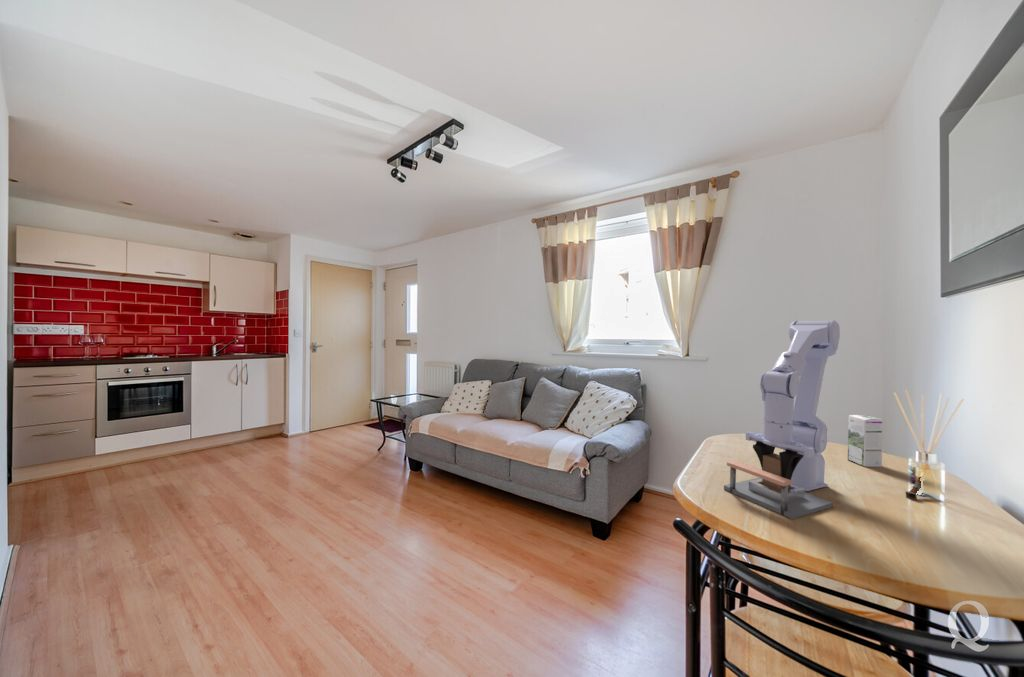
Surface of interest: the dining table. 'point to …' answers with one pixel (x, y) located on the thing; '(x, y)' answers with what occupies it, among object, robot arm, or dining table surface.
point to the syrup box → (865, 440)
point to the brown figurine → (914, 490)
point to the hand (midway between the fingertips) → (776, 477)
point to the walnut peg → (772, 469)
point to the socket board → (774, 493)
